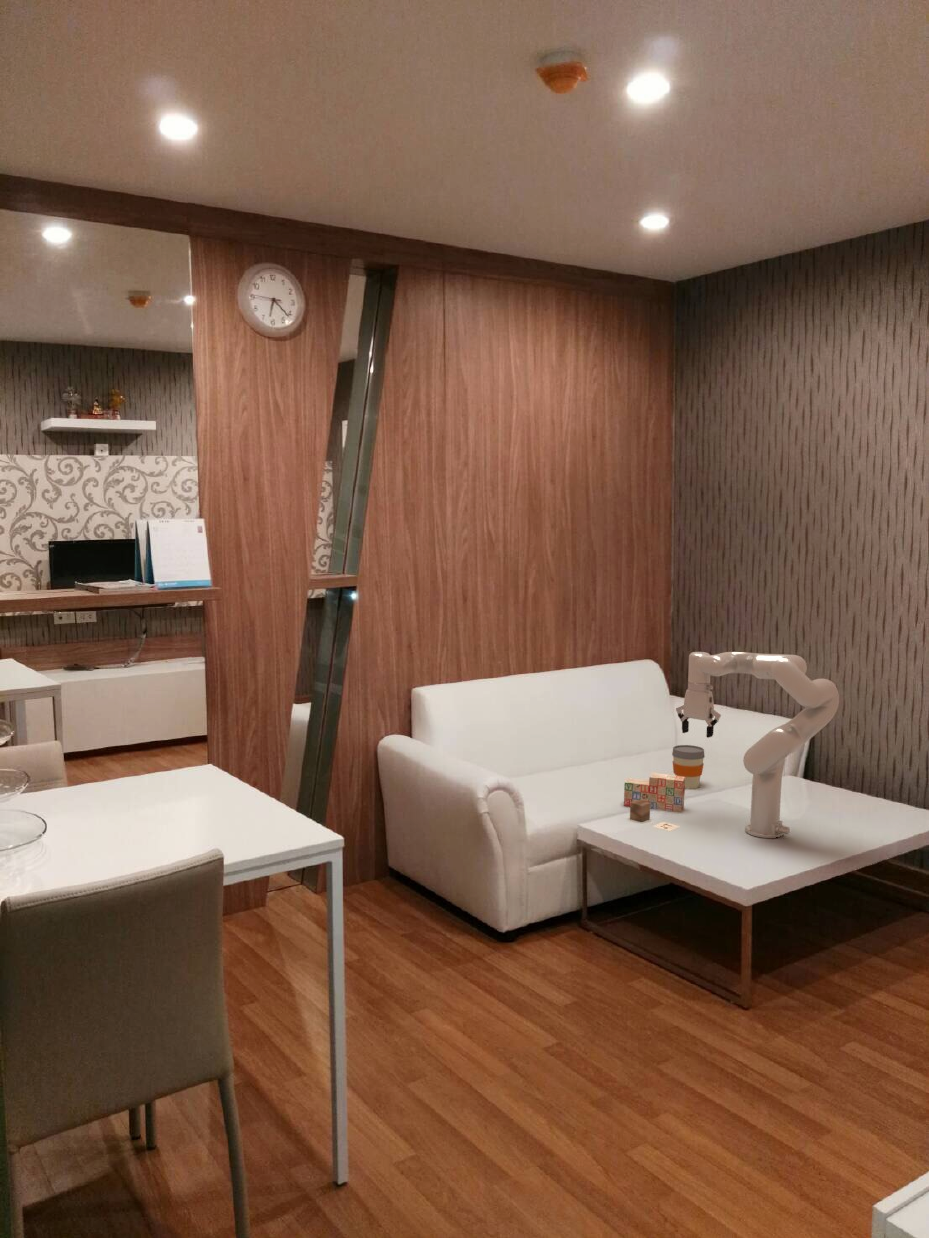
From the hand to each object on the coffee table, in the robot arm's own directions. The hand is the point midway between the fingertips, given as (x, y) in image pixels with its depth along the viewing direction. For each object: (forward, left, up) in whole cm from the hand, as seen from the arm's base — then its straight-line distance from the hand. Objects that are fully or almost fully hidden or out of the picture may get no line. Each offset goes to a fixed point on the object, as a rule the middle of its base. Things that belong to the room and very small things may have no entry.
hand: (697, 734), depth 358 cm
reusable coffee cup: (+23, -33, -30) cm, 51 cm away
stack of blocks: (+17, +1, -31) cm, 35 cm away
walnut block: (+12, +17, -30) cm, 36 cm away
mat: (+6, +17, -30) cm, 35 cm away
